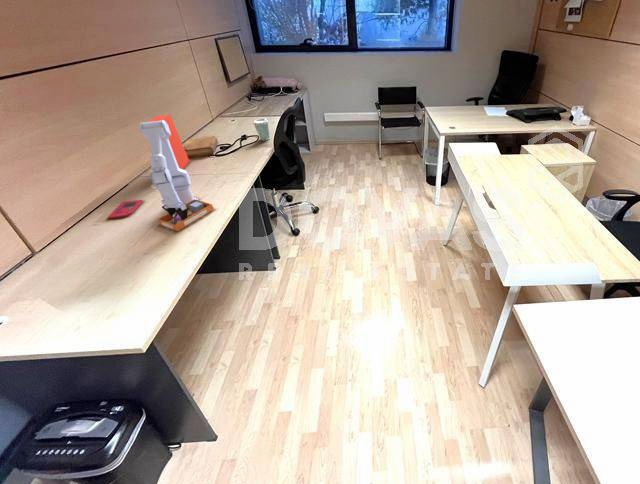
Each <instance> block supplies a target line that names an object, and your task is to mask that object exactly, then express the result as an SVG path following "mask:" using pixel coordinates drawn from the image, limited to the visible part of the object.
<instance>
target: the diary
mask: <svg viewBox="0 0 640 484" xmlns="http://www.w3.org/2000/svg"><path fill="white" fill-rule="evenodd" d="M184 144H185V145H183V147H184V149H185V152H186V154H187V156H188V158H194V157H195V158H196V157H201V156H211V155H214V154H215V151H216V149H217V147H218V144H219V140H218V138H217V137H216V136H215V135H213V136H204V137H197V138H196V137H195V138H189V139H187V141H186V142H185V143H184Z"/></svg>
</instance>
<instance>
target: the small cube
mask: <svg viewBox="0 0 640 484" xmlns="http://www.w3.org/2000/svg"><path fill="white" fill-rule="evenodd" d="M189 206H190V208H191V211H192V212H195V213H197V212H199V211H200V210H202V209H204V208H205V207H204V205H203V203H200V202H197V201H196V202H194V203H192V204H190V205H189Z"/></svg>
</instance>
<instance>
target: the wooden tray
mask: <svg viewBox="0 0 640 484" xmlns="http://www.w3.org/2000/svg"><path fill="white" fill-rule="evenodd" d="M196 201H197V202H200V203H203V205H204V207H205V208H204V209H202V210H200V211H199V212H197V213H195V212H192V211H191V208H190V206H189V205H190V204H192V203H194V202H196ZM185 206H188V207H189V208H188V218H186V219H185V220H183V221H178V222H177V223H176V225H174V224H173V223H174V222H173V217H172V216H171V215H170V214H169V213H168V212H167V213H166V214H164V215H162V216H160V217H158V218H157V222H158V224H159V226H162V227H165V228H167V229H170V230H173V231H176V232H180V230H182V229H184V228H185V227H188V226H189V225H191V224H192V223H194V222H196V221H198V220H200V219H201V218H203V217H204V216H206V215H208V214H210V213H211V212H212V211H214V210H215V208H214V205H213V204H212V203H208V202H205V201H202V200H196V199H194V200H192V201H190V202H189V203H187V204H185ZM176 210H177V208H176Z"/></svg>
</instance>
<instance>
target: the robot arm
mask: <svg viewBox="0 0 640 484" xmlns="http://www.w3.org/2000/svg"><path fill="white" fill-rule="evenodd" d="M139 130H140V132H141V134H142V135H143V136H144V138H145V139H146V140H147V141H148V144H149V148H150V152H151V156H150V157H149V161H150V167H151V172H152V173H150V176H149V177H150V180H151V183H152V184H153V185H154V186H155V188H156V189H157V190H158V191H159V194H160V196H161V198H162V199H161V200H160V202H161V204H162V206H161V209H163V210H164V211H166V212H167V214H168V213H169V214H170V215H171V216H172V217H173V215H174V214H175V212H176V215H175V217H176V216H177V214H178V215H179V216H180V218H181V219H182V221H183V220H185V219H186V218H188V217H189V215H188V208H189V207H188V206H185V204H187V203H189V202H190V201H192V200H194V199H196V200H199V198H198V197H195V196H194V193H193V192H192V189H191V187H190V186H191V185H192V179H191V176H190V175H189V173H188V171H187V170H185V169H183V170H182V169H180V168H179V167H178V164H177V161H176V159H175V156H174V153H173V150H172V148H171V145H170V142H169V139H168V137H169V136H171V132H170V129H169V127H168V124H167V123H166V122H165V121H164V120H162V121H154V122H149V121H147V122H145V121H143V122H140V123H139ZM199 201H200V200H199ZM177 208H178V209H177ZM176 209H177V210H176ZM173 218H174V217H173Z"/></svg>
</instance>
